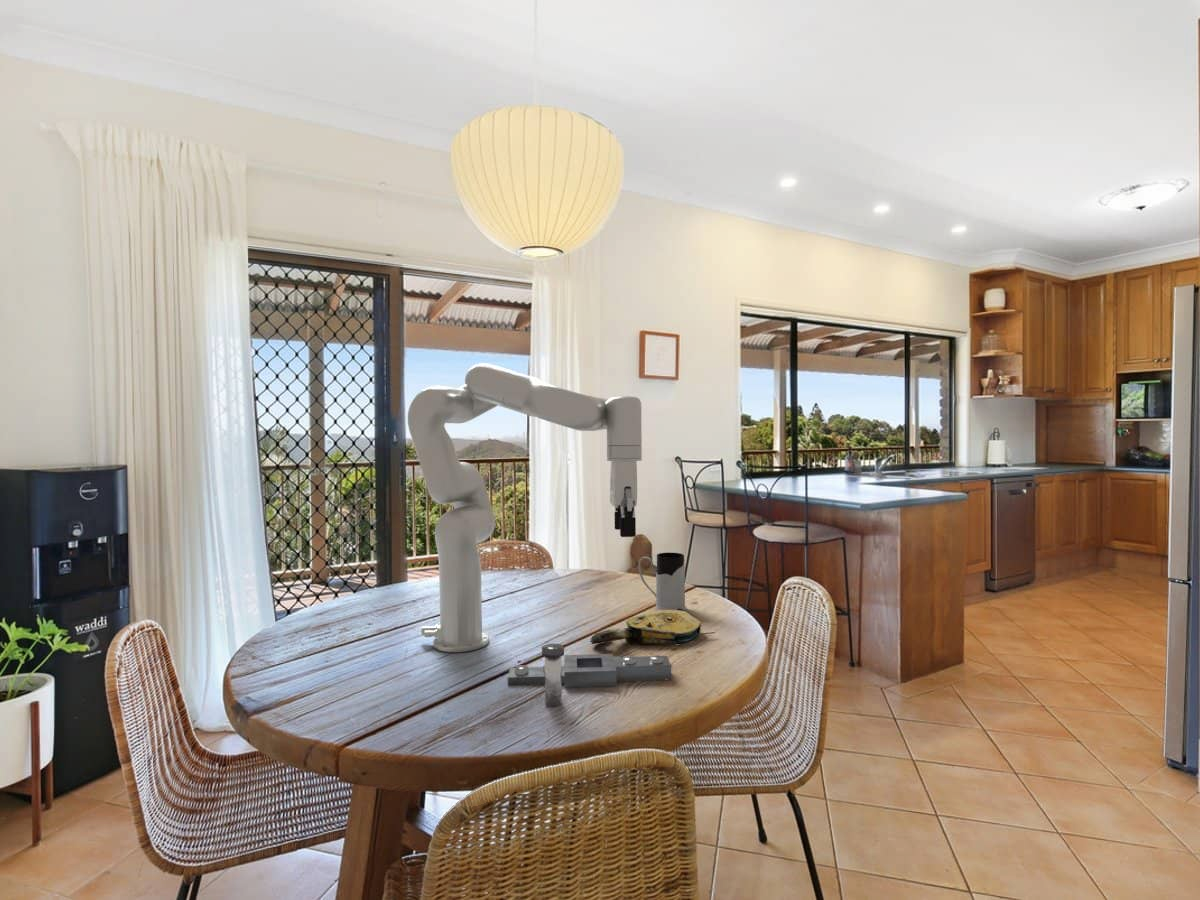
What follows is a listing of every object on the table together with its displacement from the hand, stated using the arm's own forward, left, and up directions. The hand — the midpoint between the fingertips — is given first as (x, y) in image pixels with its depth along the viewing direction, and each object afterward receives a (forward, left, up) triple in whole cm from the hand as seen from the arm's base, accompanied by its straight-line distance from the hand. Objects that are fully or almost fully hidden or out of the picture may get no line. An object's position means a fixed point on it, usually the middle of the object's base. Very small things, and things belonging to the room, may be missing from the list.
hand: (624, 532), depth 133 cm
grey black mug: (+14, +36, -27) cm, 48 cm away
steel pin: (-15, -22, -27) cm, 38 cm away
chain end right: (-3, -11, -27) cm, 29 cm away
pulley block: (+7, +11, -28) cm, 31 cm away
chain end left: (-14, -11, -27) cm, 32 cm away
